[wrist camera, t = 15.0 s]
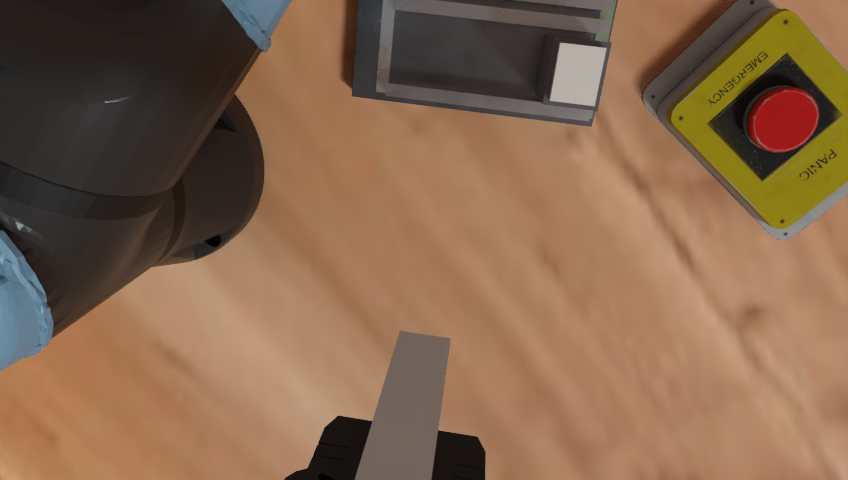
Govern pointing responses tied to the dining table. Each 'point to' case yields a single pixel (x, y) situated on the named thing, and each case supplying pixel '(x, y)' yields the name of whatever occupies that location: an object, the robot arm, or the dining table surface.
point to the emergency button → (761, 113)
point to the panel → (470, 52)
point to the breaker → (572, 72)
